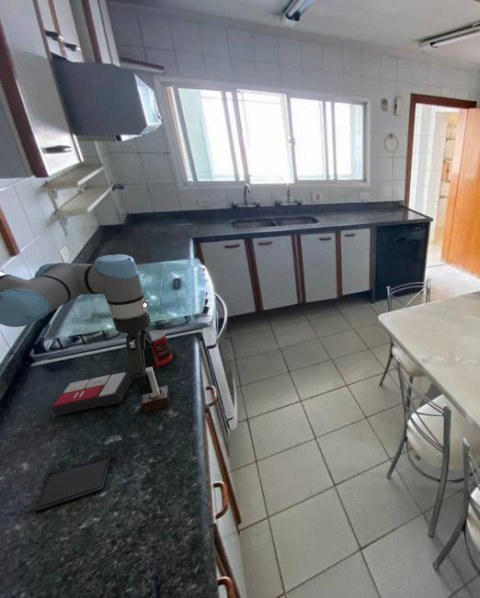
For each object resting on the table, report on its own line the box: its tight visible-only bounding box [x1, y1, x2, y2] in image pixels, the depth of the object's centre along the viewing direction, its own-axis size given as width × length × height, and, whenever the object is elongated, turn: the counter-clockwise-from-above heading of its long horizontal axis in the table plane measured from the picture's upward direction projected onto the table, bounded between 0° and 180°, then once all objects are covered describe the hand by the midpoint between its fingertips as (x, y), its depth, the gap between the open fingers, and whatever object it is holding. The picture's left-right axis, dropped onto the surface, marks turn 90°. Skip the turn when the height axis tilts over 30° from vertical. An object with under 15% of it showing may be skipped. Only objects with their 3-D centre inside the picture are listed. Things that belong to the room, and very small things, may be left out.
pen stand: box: [141, 385, 171, 414], centre depth 98 cm, size 6×6×4 cm
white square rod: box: [146, 367, 161, 398], centre depth 96 cm, size 2×2×13 cm
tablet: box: [34, 457, 111, 514], centre depth 75 cm, size 11×9×1 cm
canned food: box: [140, 329, 173, 369], centre depth 114 cm, size 8×8×11 cm
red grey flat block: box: [51, 371, 133, 417], centre depth 98 cm, size 11×4×15 cm
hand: (149, 378), depth 95 cm, fingers open, 13 cm apart
